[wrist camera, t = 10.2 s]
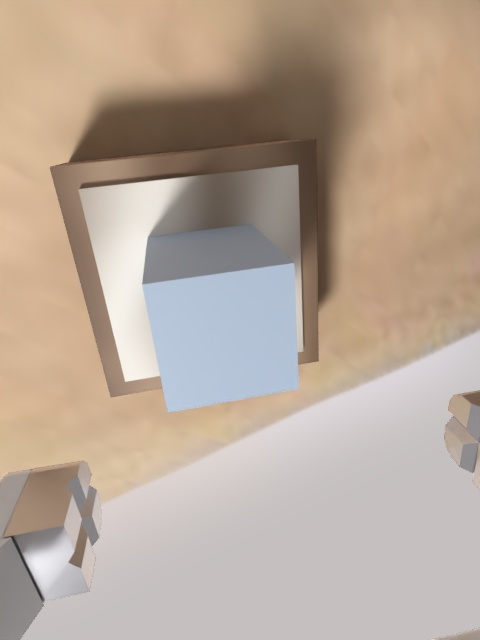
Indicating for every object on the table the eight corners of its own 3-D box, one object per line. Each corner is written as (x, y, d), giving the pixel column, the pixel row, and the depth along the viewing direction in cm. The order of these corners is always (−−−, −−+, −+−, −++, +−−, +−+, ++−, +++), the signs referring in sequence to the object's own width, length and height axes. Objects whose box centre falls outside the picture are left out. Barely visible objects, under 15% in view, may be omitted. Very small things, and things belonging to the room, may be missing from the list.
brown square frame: (291, 139, 23) (318, 139, 19) (297, 332, 28) (320, 363, 24) (68, 162, 21) (48, 167, 17) (117, 362, 26) (110, 400, 22)
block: (251, 223, 20) (294, 262, 14) (258, 317, 22) (298, 388, 16) (147, 237, 19) (141, 284, 13) (165, 332, 21) (167, 412, 15)
